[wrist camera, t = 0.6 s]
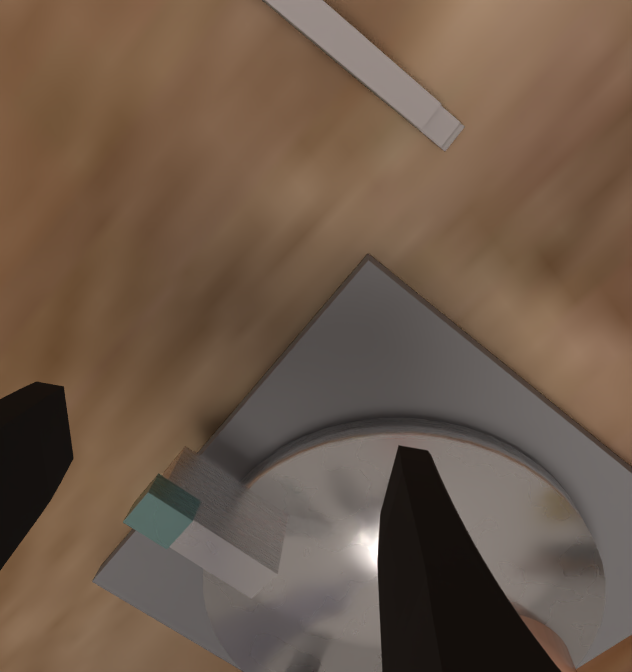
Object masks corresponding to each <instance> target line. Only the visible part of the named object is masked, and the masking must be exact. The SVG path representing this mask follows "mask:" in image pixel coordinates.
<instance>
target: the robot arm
mask: <svg viewBox="0 0 632 672" xmlns="http://www.w3.org/2000/svg"><path fill="white" fill-rule="evenodd" d="M72 460H73V451H72V444H71V436H70V429H69V422H68V414H67V407H66V400H65V393H64V386H58V385H52V384H47V383H41V382H34V383H32V384H30V385H28V386H26V387H24V388H22V389H19V390H17V391H15V392H13V393H11V394H9V395H8V396H6V397H4V398H2V399H0V570H1V569H2V567H3V566H4V565H5V563H6V562H7V560H8V559H9V558H10V556H11V555H12V554H13V552H14V551H15V549H16V548H17V547H18V545H19V544H20V543H21V541H22V540H23V538H24V537H25V536H26V534H27V533H28V532H29V530H30V529H31V527H32V526H33V525H34V523H35V522H36V520H37V519H38V518H39V516H40V515H41V513H42V512H43V511H44V509H45V508H46V506H47V505H48V503H49V502H50V501H51V499H52V497H53V495H54V494H55V492H56V490H57V488H58V486H59V485H60V483H61V481H62V479H63V477H64V475H65V473H66V472H67V470H68V468H69V466H70V464H71V462H72ZM377 567H378V591H379V612H380V634H381V655H382V672H562V671H561V670H560V669H559V668H558V667H557V665H556V664H555V663H554V662H553V660H552V659H551V658H550V656H549V655H548V654H547V652H546V651H545V650H544V648H543V647H542V646H541V644H540V643H539V642H538V640H537V639H536V638H535V636H534V635H533V634H532V632H531V631H530V630H529V628H528V627H527V625H526V624H525V623H524V621H523V620H522V618H521V617H520V616H519V614H518V613H517V611H516V610H515V608H514V607H513V605H512V604H511V602H510V601H509V599H508V598H507V596H506V595H505V593H504V592H503V590H502V589H501V587H500V586H499V584H498V582H497V581H496V579H495V578H494V576H493V574H492V573H491V571H490V569H489V568H488V566H487V564H486V563H485V561H484V560H483V558H482V556H481V554H480V553H479V551H478V549H477V547H476V546H475V544H474V542H473V540H472V538H471V537H470V535H469V533H468V531H467V529H466V527H465V525H464V524H463V522H462V520H461V518H460V516H459V514H458V512H457V510H456V508H455V506H454V504H453V502H452V500H451V498H450V496H449V494H448V492H447V490H446V488H445V485H444V483H443V481H442V479H441V477H440V474H439V472H438V470H437V467H436V465H435V463H434V460H433V458H432V455H431V454H430V453H429V451H428V450H423V449H418V448H412V447H406V446H401V445H398V449H397V453H396V456H395V460H394V464H393V468H392V471H391V475H390V479H389V482H388V486H387V490H386V494H385V497H384V501H383V505H382V509H381V512H380V524H379V538H378V555H377Z"/></svg>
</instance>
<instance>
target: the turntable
mask: <svg viewBox="0 0 632 672" xmlns="http://www.w3.org/2000/svg"><path fill="white" fill-rule="evenodd" d="M398 445H401V446H406V447H412V448H418V449H423V450H428V451H429V453H430V454H431V455H432V458H433V460H434V463H435V465H436V467H437V470H438V472H439V474H440V477H441V479H442V481H443V483H444V485H445V488H446V490H447V492H448V494H449V496H450V498H451V500H452V502H453V504H454V506H455V508H456V510H457V512H458V514H459V516H460V518H461V520H462V522H463V524H464V525H465V527H466V529H467V531H468V533H469V535H470V537H471V538H472V540H473V542H474V544H475V546H476V547H477V549H478V551H479V553H480V554H481V556H482V558H483V560H484V561H485V563H486V564H487V566H488V568H489V569H490V571H491V573H492V574H493V576H494V578H495V579H496V581H497V582H498V584H499V586H500V587H501V589H502V590H503V592H504V593H505V595H506V596H507V598H508V599H509V601H510V602H511V604H512V605H513V607H514V608H515V610H516V611H517V613H518V614H519V615H522V616H525V617H528V618H531V619H534V620H536V621H538V622H540V623H542V624H544V625H546V626H547V627H549V628H550V629H552V630H553V631H554V632H555V633H556V634H557V635H558V636H559V637H560V638H561V639H562V640H563V641H564V643H565V645H566V646H567V648H568V650H569V653H570V655H571V658H572V660H573V663H574V666H575V667H576V666H577V665H578V664H579V663H580V661H581V660H582V659H583V658H584V656H585V654H586V653H587V651H588V650H589V648H590V646H591V645H592V643H593V641H594V639H595V637H596V634H597V632H598V629H599V627H600V624H601V622H602V617H603V612H604V607H605V600H606V581H605V575H604V569H603V563H602V560H601V557H600V554H599V552H598V549H597V546H596V543H595V541H594V539H593V537H592V536H591V534H590V532H589V530H588V528H587V526H586V524H585V523H584V521H583V519H582V517H581V515H580V514H579V512H578V510H577V508H576V507H575V505H574V503H573V501H572V500H571V498H570V496H569V495H568V494H567V493H566V491H565V490H564V489H563V488H562V487H561V485H560V484H559V483H558V482H557V481H556V479H555V478H554V477H553V476H551V475H550V474H549V473H548V472H547V471H546V470H545V469H544V468H543V467H541V466H540V465H539V464H538V463H537V462H535V461H534V460H533V459H531V458H530V457H528V456H527V455H525V454H524V453H522V452H521V451H519V450H518V449H516V448H514V447H512V446H510V445H508V444H506V443H504V442H502V441H500V440H498V439H496V438H494V437H492V436H490V435H487V434H484V433H481V432H478V431H475V430H473V429H470V428H467V427H463V426H459V425H454V424H450V423H445V422H441V421H434V420H425V419H416V418H378V419H369V420H361V421H353V422H349V423H345V424H340V425H336V426H332V427H328V428H325V429H322V430H319V431H317V432H314V433H311V434H308V435H306V436H303V437H301V438H299V439H297V440H295V441H293V442H291V443H289V444H287V445H285V446H283V447H281V448H280V449H278V450H277V451H275V452H274V453H273V454H271V455H270V456H268V457H267V458H265V459H264V460H263V461H261V462H260V463H259V464H258V465H257V466H256V467H255V468H254V469H252V470H251V471H250V472H249V473H248V474H247V475H246V476H245V477H244V478H243V479H242V481H241V482H238V481H237V480H235V479H234V478H232V477H231V476H229V475H228V474H226V473H225V472H223V471H222V470H221V469H219V468H218V467H216V466H215V465H213V464H212V463H210V462H209V461H207V460H206V459H204V458H203V457H201V456H200V455H198V454H197V453H195V452H194V451H192V450H191V449H189V448H188V447H186V446H185V447H184V449H183V450H182V451H181V452H180V453H179V455H178V456H177V457H176V458H175V459H174V461H173V462H172V463H171V464H170V465H169V467H168V468H167V469H166V470H165V471H164V473H163V475H160V474H158V475H157V476H156V477H155V478H154V480H153V481H152V482H151V483H150V484H149V486H148V487H147V488H146V489H145V490H144V492H143V493H142V494H141V495H140V496H139V498H138V499H137V500H136V501H135V502H134V504H133V506H132V507H131V509H130V511H129V513H128V514H127V516H126V518H125V519H124V521H123V523H125V524H127V525H128V526H130V527H131V528H133V529H135V530H136V531H138V532H139V533H141V534H143V535H144V536H146V537H147V538H149V539H151V540H152V541H154V542H155V543H157V544H159V545H160V546H162V547H163V548H165V549H168V548H169V547H170V548H171V549H173V550H175V551H176V552H178V553H179V554H181V555H183V556H184V557H186V558H187V559H189V560H191V561H192V562H194V563H195V564H197V565H198V566H200V567H202V568H203V595H204V600H205V606H206V611H207V614H208V617H209V619H210V622H211V625H212V628H213V630H214V632H215V633H216V635H217V637H218V639H219V641H220V643H221V645H222V646H223V647H224V649H225V650H226V651H227V653H228V654H229V656H230V657H231V658H232V660H233V661H234V662H235V663H236V664H237V665H238V666H239V667H240V668H241V669H242V670H243V671H244V672H382V655H381V634H380V612H379V591H378V567H377V555H378V538H379V524H380V512H381V509H382V505H383V501H384V497H385V494H386V490H387V486H388V482H389V479H390V475H391V471H392V468H393V464H394V460H395V456H396V453H397V449H398Z"/></svg>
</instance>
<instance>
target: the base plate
mask: <svg viewBox="0 0 632 672" xmlns="http://www.w3.org/2000/svg"><path fill="white" fill-rule="evenodd" d="M378 418H416V419H425V420H434V421H441V422H445V423H450V424H454V425H459V426H463V427H467V428H470V429H473V430H475V431H478V432H481V433H484V434H487V435H490V436H492V437H494V438H496V439H498V440H500V441H502V442H504V443H506V444H508V445H510V446H512V447H514V448H516V449H518V450H519V451H521V452H522V453H524V454H525V455H527V456H528V457H530V458H531V459H533V460H534V461H535V462H537V463H538V464H539V465H540V466H541V467H543V468H544V469H545V470H546V471H547V472H548V473H549V474H550V475H551V476H553V477H554V478H555V479H556V481H557V482H558V483H559V484H560V485H561V487H562V488H563V489H564V490H565V491H566V493H567V494H568V495H569V496H570V498H571V500H572V501H573V503H574V505H575V507H576V508H577V510H578V512H579V514H580V515H581V517H582V519H583V521H584V523H585V524H586V526H587V528H588V530H589V532H590V534H591V536H592V537H593V539H594V541H595V543H596V546H597V549H598V552H599V554H600V557H601V560H602V563H603V569H604V575H605V581H606V600H605V607H604V612H603V617H602V622H601V624H600V627H599V629H598V632H597V634H596V637H595V639H594V641H593V643H592V645H591V646H590V648H589V650H588V651H587V653H586V654H585V656H584V658H583V659H582V660H581V661H580V663H579V664H578V665H577V666H576V667H575V668H576V669H577V668H578V667H580V666H582V665H583V664H585V663H586V662H588V661H590V660H591V659H593V658H594V657H596V656H598V655H599V654H601V653H602V652H604V651H606V650H607V649H609V648H611V647H612V646H614V645H615V644H617V643H619V642H620V641H622V640H623V639H625V638H627V637H628V636H630V635H631V634H632V467H630V466H629V465H628V464H627V463H626V462H624V461H623V460H622V459H621V458H619V457H618V456H617V455H616V454H614V453H613V452H612V451H611V450H610V449H608V448H607V447H606V446H605V445H603V444H602V443H601V442H600V441H598V440H597V439H596V438H595V437H594V436H592V435H591V434H590V433H589V432H587V431H586V430H585V429H584V428H582V427H581V426H580V425H579V424H578V423H576V422H575V421H574V420H573V419H571V418H570V417H569V416H568V415H566V414H565V413H564V412H563V411H562V410H560V409H559V408H558V407H557V406H555V405H554V404H553V403H552V402H550V401H549V400H548V399H547V398H546V397H544V396H543V395H542V394H541V393H539V392H538V391H537V390H536V389H534V388H533V387H532V386H531V385H530V384H528V383H527V382H526V381H525V380H523V379H522V378H521V377H520V376H518V375H517V374H516V373H515V372H514V371H512V370H511V369H510V368H509V367H507V366H506V365H505V364H504V363H502V362H501V361H500V360H499V359H498V358H496V357H495V356H494V355H493V354H491V353H490V352H489V351H488V350H486V349H485V348H484V347H483V346H481V345H480V344H479V343H478V342H477V341H475V340H474V339H473V338H472V337H470V336H469V335H468V334H467V333H465V332H464V331H463V330H462V329H461V328H459V327H458V326H457V325H456V324H454V323H453V322H452V321H451V320H449V319H448V318H447V317H446V316H445V315H443V314H442V313H441V312H440V311H438V310H437V309H436V308H435V307H433V306H432V305H431V304H430V303H429V302H427V301H426V300H425V299H424V298H422V297H421V296H420V295H419V294H417V293H416V292H415V291H414V290H413V289H411V288H410V287H409V286H408V285H406V284H405V283H404V282H403V281H401V280H400V279H399V278H398V277H397V276H395V275H394V274H393V273H392V272H390V271H389V270H388V269H387V268H385V267H384V266H383V265H382V264H381V263H379V262H378V261H377V260H376V259H374V258H373V257H372V256H371V255H369V254H367V255H366V257H365V258H364V259H363V260H362V261H361V262H360V264H359V265H358V266H357V267H356V268H355V269H354V271H353V272H352V273H351V274H350V275H349V276H348V278H347V279H346V280H345V281H344V282H343V283H342V285H341V286H340V287H339V288H338V289H337V290H336V292H335V293H334V294H333V295H332V296H331V297H330V299H329V300H328V301H327V302H326V303H325V305H324V306H323V307H322V308H321V309H320V310H319V312H318V313H317V314H316V315H315V316H314V317H313V319H312V320H311V321H310V322H309V323H308V324H307V326H306V327H305V328H304V329H303V330H302V331H301V333H300V334H299V335H298V336H297V337H296V338H295V340H294V341H293V342H292V343H291V344H290V345H289V347H288V348H287V349H286V350H285V351H284V352H283V354H282V355H281V356H280V357H279V358H278V359H277V361H276V362H275V363H274V364H273V365H272V366H271V368H270V369H269V370H268V371H267V372H266V373H265V375H264V376H263V377H262V378H261V379H260V380H259V382H258V383H257V384H256V385H255V386H254V388H253V389H252V390H251V391H250V392H249V393H248V395H247V396H246V397H245V398H244V399H243V400H242V402H241V403H240V404H239V405H238V406H237V407H236V409H235V410H234V411H233V412H232V413H231V414H230V416H229V417H228V418H227V419H226V420H225V421H224V423H223V424H222V425H221V426H220V427H219V428H218V430H217V431H216V432H215V433H214V434H213V435H212V437H211V438H210V439H209V440H208V441H207V442H206V444H205V445H204V446H203V447H202V448H201V449H200V451H199V452H198V453H197V454H198V455H200V456H201V457H203V458H204V459H206V460H207V461H209V462H210V463H212V464H213V465H215V466H216V467H218V468H219V469H221V470H222V471H223V472H225V473H226V474H228V475H229V476H231V477H232V478H234V479H235V480H237V481H238V482H241V481H242V479H243V478H244V477H245V476H246V475H247V474H248V473H249V472H250V471H251V470H252V469H254V468H255V467H256V466H257V465H258V464H259V463H260V462H261V461H263V460H264V459H265V458H267V457H268V456H270V455H271V454H273V453H274V452H275V451H277V450H278V449H280V448H281V447H283V446H285V445H287V444H289V443H291V442H293V441H295V440H297V439H299V438H301V437H303V436H306V435H308V434H311V433H314V432H317V431H319V430H322V429H325V428H328V427H332V426H336V425H340V424H345V423H349V422H353V421H361V420H369V419H378ZM92 582H93V583H95V584H97V585H98V586H100V587H102V588H104V589H105V590H107V591H109V592H110V593H112V594H114V595H115V596H117V597H119V598H120V599H122V600H124V601H125V602H127V603H129V604H130V605H132V606H134V607H136V608H137V609H139V610H141V611H142V612H144V613H146V614H147V615H149V616H151V617H152V618H154V619H156V620H157V621H159V622H161V623H162V624H164V625H166V626H167V627H169V628H171V629H173V630H174V631H176V632H178V633H179V634H181V635H183V636H184V637H186V638H188V639H189V640H191V641H193V642H194V643H196V644H198V645H199V646H201V647H203V648H204V649H206V650H208V651H210V652H211V653H213V654H215V655H216V656H218V657H220V658H221V659H223V660H225V661H226V662H228V663H230V664H231V665H233V666H235V667H236V668H238V669H240V670H242V669H241V668H240V667H239V666H238V665H237V664H236V663H235V662H234V661H233V660H232V658H231V657H230V656H229V654H228V653H227V651H226V650H225V649H224V647H223V646H222V645H221V643H220V641H219V639H218V637H217V635H216V633H215V632H214V630H213V628H212V625H211V622H210V619H209V617H208V614H207V611H206V606H205V600H204V595H203V568H202V567H200V566H198V565H197V564H195V563H194V562H192V561H191V560H189V559H187V558H186V557H184V556H183V555H181V554H179V553H178V552H176V551H175V550H173V549H171V548H170V547H169V548H168V549H165V548H163V547H162V546H160V545H159V544H157V543H155V542H154V541H152V540H151V539H149V538H147V537H146V536H144V535H143V534H141V533H139V532H138V531H136V530H135V529H132V530H131V531H130V532H129V534H128V535H127V536H126V537H125V538H124V539H123V541H122V542H121V543H120V544H119V545H118V547H117V548H116V549H115V550H114V551H113V552H112V554H111V555H110V556H109V557H108V558H107V559H106V561H105V562H104V563H103V564H102V565H101V567H100V568H99V570H98V572H97V574H96V575H95V577H94V579H93V581H92ZM242 671H243V670H242ZM243 672H244V671H243Z"/></svg>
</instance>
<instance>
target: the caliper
mask: <svg viewBox="0 0 632 672" xmlns="http://www.w3.org/2000/svg"><path fill="white" fill-rule="evenodd" d="M262 1H263V2H265V3H266V4H267V5H268V6H270V7H271V8H272V9H273V10H274V11H276V12H277V13H278V14H279V15H280V16H282V17H283V18H284V19H285V20H286V21H288V22H289V23H290V24H291V25H292V26H294V27H295V28H296V29H297V30H298V31H300V32H301V33H302V34H303V35H304V36H306V37H307V38H308V39H309V40H310V41H312V42H313V43H314V44H315V45H316V46H318V47H319V48H320V49H321V50H322V51H324V52H325V53H326V54H327V55H328V56H330V57H331V58H332V59H333V60H334V61H336V62H337V63H338V64H339V65H340V66H342V67H343V68H344V69H345V70H346V71H348V72H349V73H350V74H351V75H352V76H354V77H355V78H356V79H357V80H358V81H360V82H361V83H362V84H363V85H364V86H366V87H367V88H368V89H369V90H370V91H372V92H373V93H374V94H375V95H376V96H378V97H379V98H380V99H381V100H383V101H384V102H385V103H386V104H387V105H389V106H390V107H391V108H392V109H394V110H395V111H396V112H397V113H398V114H400V115H401V116H402V117H403V118H405V119H406V120H407V121H408V122H409V123H411V124H412V125H413V126H414V127H416V128H417V129H418V130H419V131H421V132H422V133H423V134H424V135H425V136H427V137H428V138H429V139H430V140H431V141H433V142H434V143H435V144H436V145H437V146H439V147H440V148H441V149H442V150H444V151H446V150H447V149H448V147H449V146H450V145H451V143H452V142H453V141H454V140H455V138H456V137H457V136H458V135H459V133H460V132H461V131H462V130H463V128H464V126H463V125H462V124H461V122H459V121H458V120H457V119H456V118H455V117H454V116H453V115H451V114H450V113H449V112H448V111H447V110H446V109H444V108H443V107H442V106H441V103H440V102H439V101H438V100H437V99H435V98H434V97H433V96H432V95H431V94H430V93H428V92H427V91H426V90H425V89H424V88H423V87H422V86H420V85H419V84H418V83H417V82H416V81H415V80H414V79H412V78H411V77H410V76H409V75H408V74H407V73H406V72H404V71H403V70H402V69H401V68H400V67H399V66H398V65H396V64H395V63H394V62H393V61H392V60H391V59H389V58H388V57H387V56H386V55H385V54H384V53H383V52H381V51H380V50H379V49H378V48H377V47H376V46H375V45H373V44H372V43H371V42H370V41H369V40H368V39H367V38H365V37H364V36H363V35H362V34H361V33H360V32H359V31H357V30H356V29H355V28H354V27H353V26H352V25H350V24H349V23H348V22H347V21H346V20H345V19H344V18H342V17H341V16H340V15H339V14H338V13H337V12H336V11H334V10H333V9H332V8H331V7H330V6H329V5H328V4H326V3H325V2H324V1H323V0H262Z"/></svg>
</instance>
